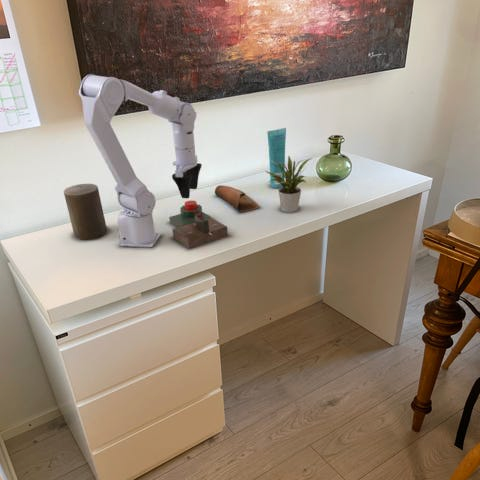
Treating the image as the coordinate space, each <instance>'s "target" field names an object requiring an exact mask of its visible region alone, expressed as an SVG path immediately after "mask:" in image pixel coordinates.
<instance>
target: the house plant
mask: <svg viewBox="0 0 480 480" xmlns="http://www.w3.org/2000/svg"><path fill="white" fill-rule="evenodd" d="M312 159H313V158H308V159H306V160H300V161H298V162H297V163H296V161H295V160H294V161H292V159H291V156H290V155H288V156H287V166H286V164H285V165H284V164H283V163H282V162H281V161H280V162H281V163H282V164H283V165H284V167H285V169H284V168H283V167H282V166H281V165H280V164H279V163H277V162H274V161H272V162H274V163H276V164H278V165H279V168H280V167H281V168H280V169H281V171H282V170H283V171H282V173H283V172H284V173H283V175H282V176H284V180H283V179H282V178H281V177H280V176H278V175H276V174H274V173H272V172H270V171H268V170H265V173H266V174H268V175H269V176H270V175H271V176H272V177H274V178H275V179H272V180H270V179H269V181H268V182H267V183H270V181H278V182H279V183H280V184H281V185H282V186H283V187H280V188H279V189H278V197H279V204H280V209H281V211H282V212H284V213H295V212H297V211H298V210H299V205H300V198H301V195H302V194H301V193H302V189H301V188H300V187H298V185H300V183H305V184H307V180H306V179H303V178H307V176H306V175H301V174H302V173H303V172H304V170H303V169H304V168H305V165H306V164H307V163H308V162H309V161H310V160H312ZM301 162H302V163H301ZM300 163H301V164H300ZM299 164H300V166H299V167H298V165H299ZM271 167H272V166H271ZM297 167H298V169H297ZM273 168H274V167H273ZM275 169H276V168H275ZM296 169H297V172H296ZM295 172H296V173H295ZM284 174H285V175H284Z"/></svg>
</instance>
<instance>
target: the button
mask: <svg viewBox="0 0 480 480" xmlns="http://www.w3.org/2000/svg"><path fill="white" fill-rule="evenodd" d="M197 204H198V202H197V201H196V200H187V201H185V202H184V205H185V210H189V211H190V210H196V209H197Z"/></svg>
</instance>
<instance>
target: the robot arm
mask: <svg viewBox="0 0 480 480" xmlns="http://www.w3.org/2000/svg"><path fill="white" fill-rule="evenodd" d="M78 96H79V97H80V99H81V102H82V112H83V121H84V125H85V127H86V129H87V131H88V132H89V134H90V136H91V138H92V140H93V142H94V144H95V145H96V147H97V149H98V151H99V153H100V155H101V156H102V158H103V160H104V162H105V164H106V166H107V167H108V170H110V173H111V175H112V176H113V178H114V180H115V182H116V185H115V187H114V190H115V192H116V194H117V196H116V197H117V202H118V204H119V205H120V206H121V207H122V208H123V210H121V211H119V212H118V216H117V226H118V227H117V228H118V233H119V238H120V246H121V247H135V248H136V247H137V248H153V247H154V245H155V244H156V243H157V241H158V240H159V238H160V236H161V234H160V233H156V231H155V224H154V218H153V212H154V209H155V207H156V203H157V202H156V197H155V194H153V192H152V191H149V189H148V187H147V185H146V184H144V182H143V181H142V180H141V179H140V178H138V177H137V174H136V173H135V171H134V169H133V167H132V165H131V162H130V161H129V159H128V156H127V155H126V153H125V151H124V149H123V146H122V144H121V142H120V141H119V139H118V137H117V134H116V133H115V131H114V129H113V126H112V125H111V121H112V119H113V118H114V116H115V114H116V113H117V111H118V110H119V108H120V106H121V105H122V103H123V102H127V101H128V100H130V101H132V102H136V103H138V104H140V105H144V106H146V107H147V108H148V111H149V113H151V114H153V115H155V116H158V117H160V118H163V119H165V120H167V121H168V122H169V123H171V127H172V137H173V145H174V153H175V154H174V155H175V161H173V162H172V166H175V170H174V173H173V174H171V178H172V180H173V182H174V183H175V185H176V187H177V188H178V192H179V194H180V197H181V198H182V199H190V196H191V195H190V194H191V190H197V189H198V183H199V176H200V171H201V169H202V166H203V165H202V163H201V162H198V155H197V154H196V145H195V136H194V135H195V134H194V129H195V122H196V119H197V111H196V110H195V108H194V106H193V105H192V104H191V103H189V102H184V101H181V100H180V99H181V98H179V97H178V96H174V97H173V96H170V95H168V92H167V91H165V90H163V89H160V90H155V91H153V92H152V93H151V92H150V91H148V90H145V89H144V88H142V87H139V86H138V85H136V84H134V83H131V82H129V81H127V80H124V79H121V78H119V79H118V78H117V77H114V76H109V77H108V76H102V75H96V74H93V73H92V74H91V73H89V74H87V75H86V76H85V77H83V78H82V80H81V83H80V86H79V90H78Z"/></svg>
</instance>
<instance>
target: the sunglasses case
mask: <svg viewBox="0 0 480 480" xmlns="http://www.w3.org/2000/svg"><path fill="white" fill-rule="evenodd" d="M214 195H216V196H217V197H219V198H220V199H222V200H224V201H225V202H226V203H228V205H231V206H232V207H233V208H235V210H237V211H238V212H239V213H246V212H250V211H253V210H257V209H259V208H260V205H259V204H258V203H257V202H256V201H255V200H254V199H252V198H251V197H250V196H248V195H247V194H246V192H244V191H242V190H240V189H239V188H238V189H237V188H235V187H232V186H228V185H223V184H222V185H221V184H220V185H217V186H216V187H215V189H214Z"/></svg>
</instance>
